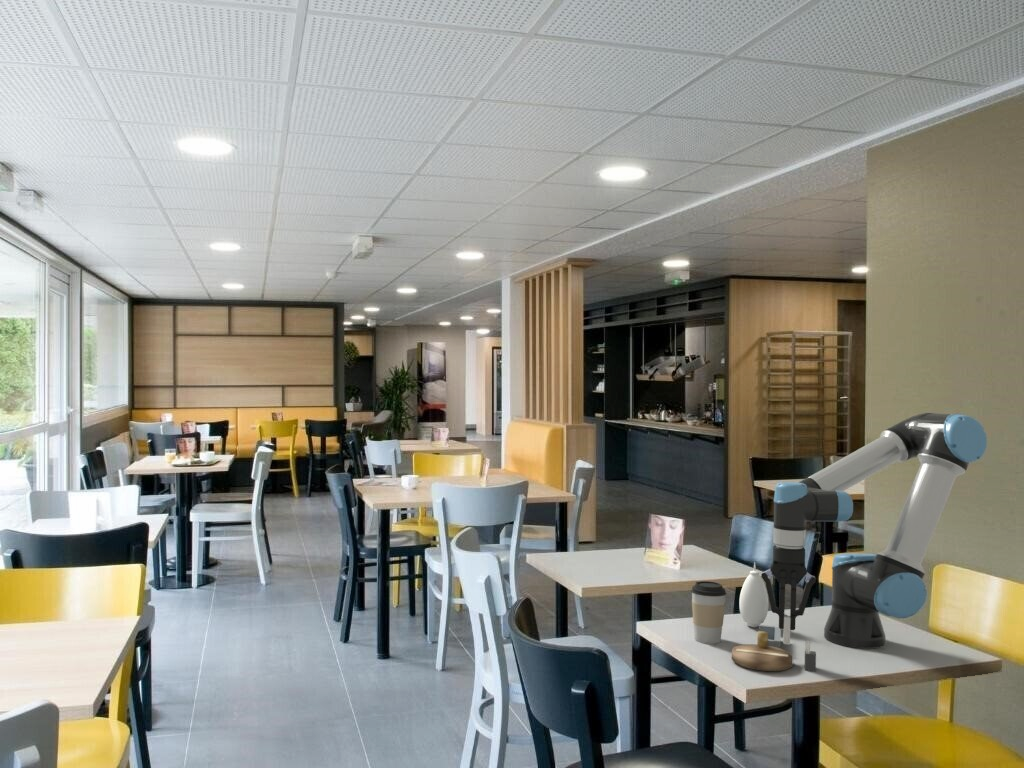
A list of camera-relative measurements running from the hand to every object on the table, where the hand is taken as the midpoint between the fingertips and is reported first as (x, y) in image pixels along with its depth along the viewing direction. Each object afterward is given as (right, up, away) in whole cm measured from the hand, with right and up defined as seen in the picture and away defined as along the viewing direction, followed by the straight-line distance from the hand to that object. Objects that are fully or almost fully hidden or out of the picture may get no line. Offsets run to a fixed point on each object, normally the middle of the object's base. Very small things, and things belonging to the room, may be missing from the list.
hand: (786, 642), depth 204 cm
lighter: (+4, -5, -6) cm, 8 cm away
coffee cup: (-16, -4, +16) cm, 23 cm away
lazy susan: (-7, -4, -2) cm, 8 cm away
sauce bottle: (0, -5, +30) cm, 30 cm away
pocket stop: (-1, -5, +11) cm, 12 cm away
